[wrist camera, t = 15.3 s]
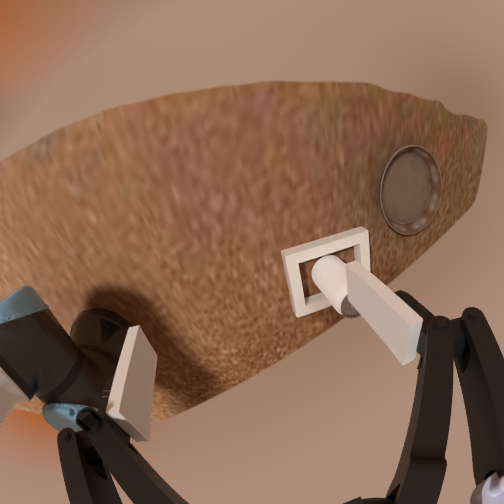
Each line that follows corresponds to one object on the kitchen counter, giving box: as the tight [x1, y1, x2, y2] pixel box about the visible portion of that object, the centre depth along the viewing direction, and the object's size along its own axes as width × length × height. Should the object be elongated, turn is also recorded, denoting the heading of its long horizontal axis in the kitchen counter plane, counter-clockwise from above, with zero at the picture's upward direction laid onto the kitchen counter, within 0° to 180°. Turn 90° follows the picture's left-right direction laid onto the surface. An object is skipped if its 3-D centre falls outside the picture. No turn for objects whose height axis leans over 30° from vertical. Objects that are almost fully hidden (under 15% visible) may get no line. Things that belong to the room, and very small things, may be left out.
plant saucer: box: [379, 145, 442, 235], centre depth 45 cm, size 18×18×3 cm
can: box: [312, 255, 360, 318], centre depth 44 cm, size 6×6×12 cm
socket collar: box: [281, 227, 370, 318], centre depth 49 cm, size 16×13×2 cm
